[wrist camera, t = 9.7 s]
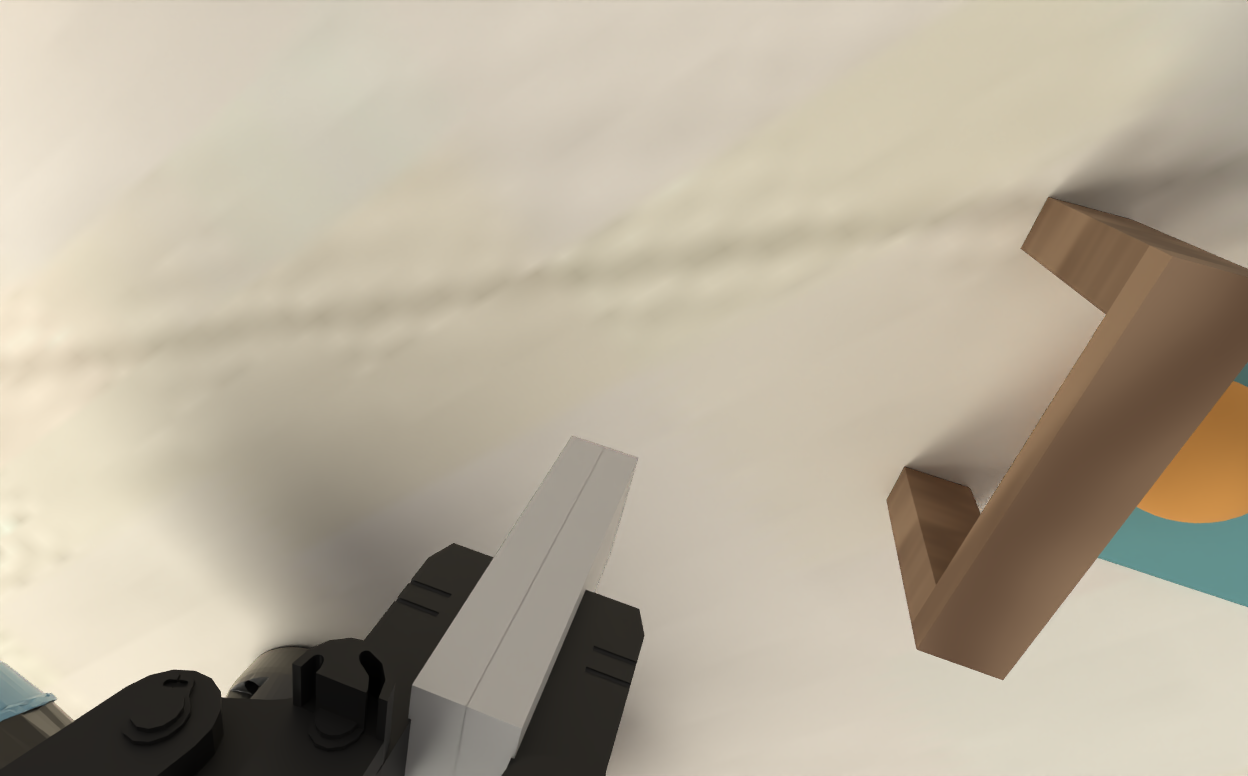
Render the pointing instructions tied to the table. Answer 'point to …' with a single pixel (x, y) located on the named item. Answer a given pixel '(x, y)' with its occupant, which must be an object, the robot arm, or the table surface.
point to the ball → (1208, 468)
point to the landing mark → (1187, 549)
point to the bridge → (1074, 439)
